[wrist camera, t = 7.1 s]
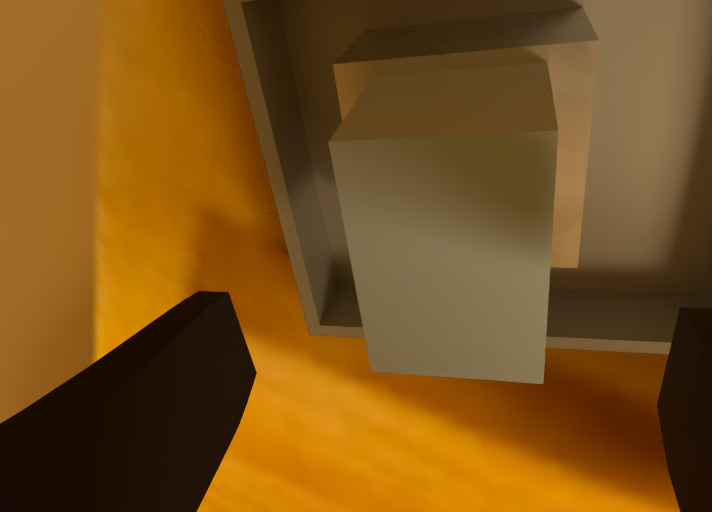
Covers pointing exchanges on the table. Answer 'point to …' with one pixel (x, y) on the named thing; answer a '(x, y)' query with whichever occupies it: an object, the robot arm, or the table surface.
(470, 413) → the table surface
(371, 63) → the wooden block
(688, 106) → the crate
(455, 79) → the carton
